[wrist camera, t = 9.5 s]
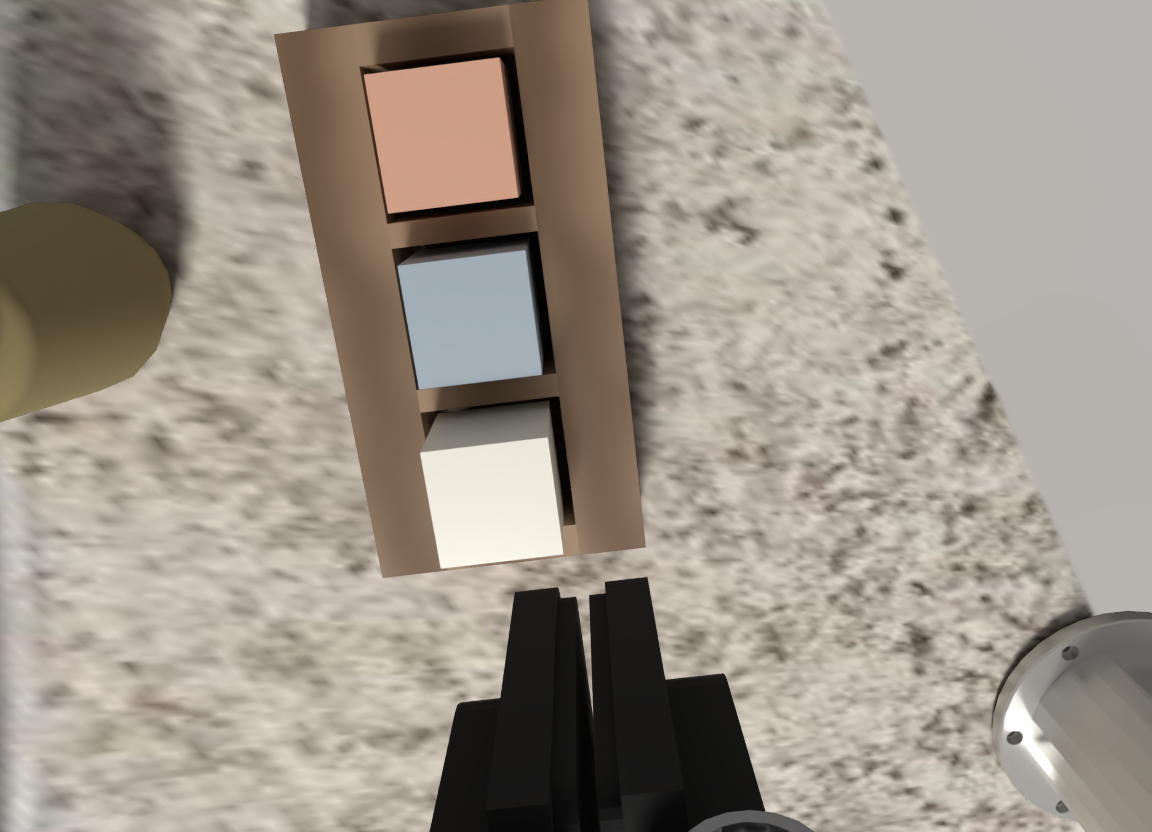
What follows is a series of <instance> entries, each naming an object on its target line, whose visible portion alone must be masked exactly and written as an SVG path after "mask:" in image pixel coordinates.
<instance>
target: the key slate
mask: <svg viewBox="0 0 1152 832" xmlns="http://www.w3.org/2000/svg"><path fill="white" fill-rule="evenodd" d="M398 272H399V278H400V283H401V289H402V295H403V301H404V306H405V312H406V318H407V323H408V329H409V335H410V340H411V346H412V352H413V358H414V363H415V369H416V375H417V380H418V386H419V390H420V389H428V388H437V387H445V386H453V385H462V384H470V383H478V382H487V381H495V380H503V379H512V378H520V377H528V376H537V375H542V370H543V358H544V340H543V333H542V325H541V317H540V310H539V302H538V295H537V287H536V280H535V272H534V265H533V257H532V249H531V242H530V237H525V238H516V239H508V240H500V241H492V242H484V243H476V244H468V245H459V246H451V247H443V248H435V249H427V250H419V251H417V252H415V253H414V254H413V255H411V256H410V257H409V258H407V259H406V260H405V261H403V262H402V263H401V264H399V265H398Z"/></svg>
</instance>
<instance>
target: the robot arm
mask: <svg viewBox="0 0 1152 832" xmlns="http://www.w3.org/2000/svg"><path fill="white" fill-rule="evenodd" d="M605 591H606V593H605V594H596V595H589V603H590V632H591V661H592V690H593V713H592V706H591V698H590V691H589V684H588V676H587V669H586V662H585V655H584V647H583V640H582V633H581V626H580V618H579V611H578V604H577V599H576V597H570V598H561V597H560V592H559V589H558V587H556V588H548V589H539V590H530V591H521V592H515V595H514V602H513V609H512V616H511V624H510V631H509V639H508V646H507V653H506V661H505V668H504V675H503V683H502V690H501V698H497V699H488V700H479V701H470V702H461V703H459V704H458V705H457V708H456V711H455V715H454V720H453V725H452V729H451V734H450V739H449V743H448V748H447V753H446V757H445V762H444V767H443V771H442V776H441V781H440V785H439V790H438V795H437V800H436V804H435V809H434V814H433V818H432V823H431V828H430V832H814V831H813V830H811V829H810V828H808V827H807V826H805V825H803V824H802V823H800V822H799V821H797V820H794V819H791V818H788V817H785V816H783V815H780V814H777V813H772V812H765V808H764V805H763V801H762V798H761V795H760V791H759V788H758V784H757V781H756V778H755V774H754V771H753V767H752V764H751V760H750V757H749V754H748V750H747V747H746V743H745V740H744V736H743V733H742V730H741V726H740V723H739V719H738V716H737V712H736V709H735V706H734V702H733V699H732V695H731V692H730V688H729V685H728V682H727V679H726V676H725V675H724V674H714V675H705V676H696V677H687V678H678V679H669V680H665V675H664V670H663V664H662V658H661V652H660V647H659V641H658V635H657V629H656V624H655V618H654V612H653V606H652V601H651V595H650V589H649V583H648V578H647V577H644V578H635V579H626V580H618V581H609V582H605ZM593 719H594V720H593ZM992 736H993V743H994V749H995V753H996V756H997V758H998V761H999V763H1000V765H1001V768H1002V770H1003V771H1004V772H1005V774H1006V775H1007V777H1008V778H1009V780H1010V781H1011V783H1012V784H1013V786H1014V787H1015V788H1016V789H1017V790H1018V791H1019V792H1020V794H1021V795H1022V796H1023V797H1024V798H1025V799H1026V800H1027V801H1029V802H1030V803H1032V804H1033V805H1035V806H1036V807H1037V808H1039V809H1040V810H1042V811H1044V812H1046V813H1048V814H1051V815H1053V816H1055V817H1058V818H1061V819H1066V820H1070V821H1075V822H1079V824H1080V825H1081V826H1082V828H1083V829H1084V830H1085V832H1152V613H1150V612H1135V611H1123V612H1115V613H1107V614H1101V615H1097V616H1094V617H1090V618H1087V619H1083V620H1080V621H1078V622H1076V623H1074V624H1071V625H1069V626H1067V627H1065V628H1063V629H1061V630H1059V631H1057V632H1056V633H1054V634H1053V635H1051V636H1050V637H1048V638H1047V639H1045V640H1044V641H1042V642H1041V643H1039V644H1038V645H1037V646H1036V647H1035V648H1034V649H1033V650H1032V651H1030V652H1029V653H1028V654H1027V655H1026V656H1025V657H1024V658H1023V659H1022V660H1021V661H1020V663H1019V664H1018V665H1017V667H1016V668H1015V669H1014V670H1013V672H1012V673H1011V674H1010V676H1009V677H1008V679H1007V681H1006V683H1005V685H1004V687H1003V689H1002V691H1001V693H1000V695H999V697H998V701H997V704H996V708H995V711H994V714H993V728H992Z"/></svg>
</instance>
